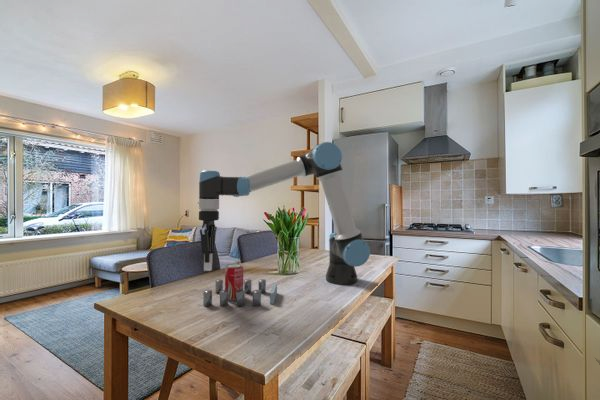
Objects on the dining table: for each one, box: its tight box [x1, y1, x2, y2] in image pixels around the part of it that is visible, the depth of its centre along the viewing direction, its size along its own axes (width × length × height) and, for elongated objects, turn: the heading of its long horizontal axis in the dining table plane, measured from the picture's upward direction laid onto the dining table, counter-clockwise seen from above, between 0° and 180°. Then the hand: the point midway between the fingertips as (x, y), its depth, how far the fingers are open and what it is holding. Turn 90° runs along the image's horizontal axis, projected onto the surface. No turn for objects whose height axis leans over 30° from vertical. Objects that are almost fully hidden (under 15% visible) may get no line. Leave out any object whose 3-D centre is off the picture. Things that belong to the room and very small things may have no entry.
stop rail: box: [269, 283, 278, 305], centre depth 106 cm, size 2×12×4 cm, turn 0°
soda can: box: [224, 262, 244, 302], centre depth 106 cm, size 7×7×13 cm
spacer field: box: [202, 278, 267, 308], centre depth 106 cm, size 21×17×5 cm
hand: (208, 270), depth 106 cm, fingers closed
